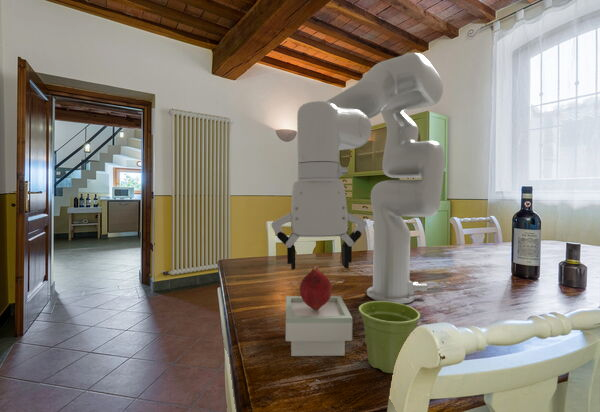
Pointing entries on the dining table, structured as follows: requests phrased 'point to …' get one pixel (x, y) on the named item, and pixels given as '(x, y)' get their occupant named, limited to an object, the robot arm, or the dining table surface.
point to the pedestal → (317, 327)
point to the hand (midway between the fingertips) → (319, 267)
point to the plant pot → (386, 331)
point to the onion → (315, 289)
